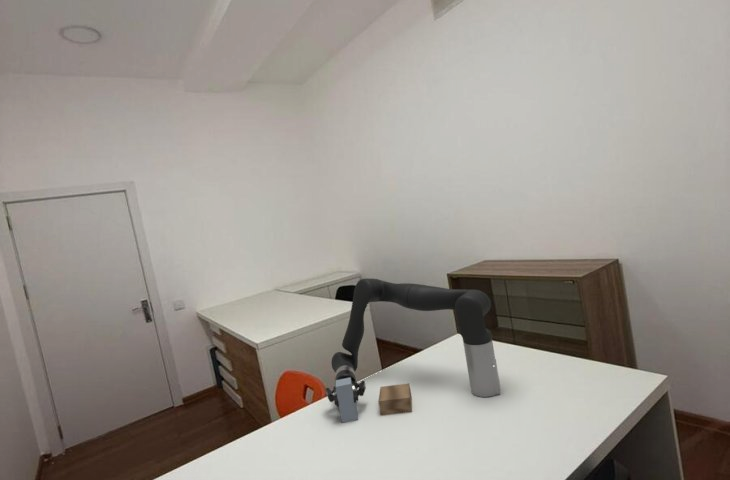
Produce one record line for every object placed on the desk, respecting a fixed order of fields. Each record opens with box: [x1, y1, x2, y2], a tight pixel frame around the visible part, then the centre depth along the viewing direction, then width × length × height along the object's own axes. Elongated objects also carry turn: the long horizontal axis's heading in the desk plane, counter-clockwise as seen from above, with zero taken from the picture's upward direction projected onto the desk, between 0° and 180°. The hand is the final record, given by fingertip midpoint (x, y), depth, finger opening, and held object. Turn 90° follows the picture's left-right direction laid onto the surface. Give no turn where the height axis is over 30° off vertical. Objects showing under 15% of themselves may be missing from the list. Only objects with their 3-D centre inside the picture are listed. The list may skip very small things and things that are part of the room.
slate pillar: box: [334, 377, 358, 424], centre depth 127 cm, size 5×5×12 cm
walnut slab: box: [377, 383, 413, 416], centre depth 129 cm, size 10×10×5 cm
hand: (346, 401), depth 124 cm, fingers closed on slate pillar, 5 cm apart
